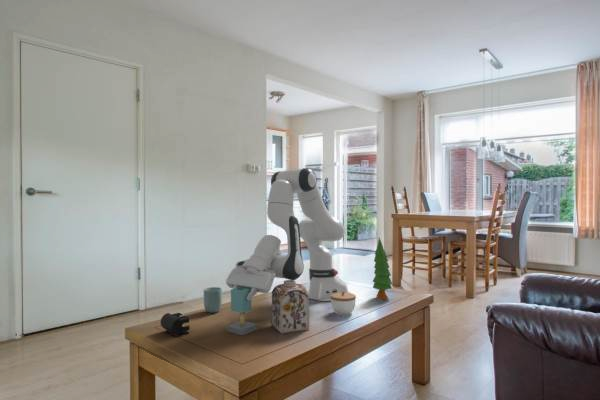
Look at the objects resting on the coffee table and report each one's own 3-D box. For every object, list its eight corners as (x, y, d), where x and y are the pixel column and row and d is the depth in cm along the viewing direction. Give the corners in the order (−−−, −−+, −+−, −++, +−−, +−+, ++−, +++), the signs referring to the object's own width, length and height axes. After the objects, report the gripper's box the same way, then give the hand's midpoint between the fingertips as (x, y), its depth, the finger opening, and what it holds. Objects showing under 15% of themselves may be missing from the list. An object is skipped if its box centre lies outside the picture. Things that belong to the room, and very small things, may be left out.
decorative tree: (369, 296, 198) (368, 236, 198) (385, 294, 202) (384, 235, 201) (380, 301, 189) (380, 238, 189) (397, 299, 193) (396, 237, 192)
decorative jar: (271, 324, 157) (270, 279, 157) (299, 321, 161) (298, 276, 161) (280, 334, 146) (280, 285, 145) (310, 330, 150) (309, 282, 149)
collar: (240, 307, 154) (240, 286, 154) (251, 309, 151) (251, 288, 151) (231, 310, 149) (230, 289, 149) (241, 312, 146) (241, 291, 146)
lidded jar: (353, 318, 164) (352, 295, 164) (328, 315, 167) (327, 293, 167) (358, 310, 174) (357, 289, 174) (334, 309, 177) (333, 288, 177)
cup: (217, 314, 171) (217, 291, 171) (200, 313, 173) (200, 290, 173) (224, 309, 179) (224, 287, 179) (208, 308, 181) (208, 286, 180)
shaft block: (242, 325, 156) (242, 307, 156) (257, 329, 151) (257, 311, 151) (227, 331, 150) (227, 312, 150) (242, 335, 145) (242, 316, 145)
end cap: (160, 332, 150) (160, 314, 150) (178, 327, 155) (177, 310, 155) (171, 339, 143) (171, 320, 143) (190, 334, 147) (189, 315, 147)
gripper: (280, 275, 154) (265, 307, 146) (241, 271, 165) (224, 299, 157) (273, 266, 150) (257, 297, 142) (233, 261, 161) (216, 290, 153)
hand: (240, 298), depth 150 cm, fingers closed on collar, 5 cm apart
